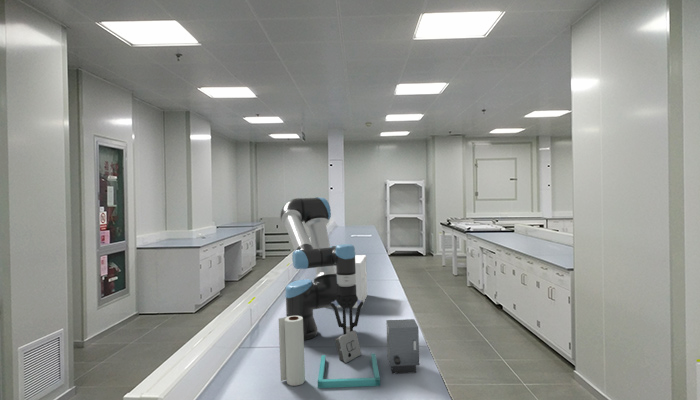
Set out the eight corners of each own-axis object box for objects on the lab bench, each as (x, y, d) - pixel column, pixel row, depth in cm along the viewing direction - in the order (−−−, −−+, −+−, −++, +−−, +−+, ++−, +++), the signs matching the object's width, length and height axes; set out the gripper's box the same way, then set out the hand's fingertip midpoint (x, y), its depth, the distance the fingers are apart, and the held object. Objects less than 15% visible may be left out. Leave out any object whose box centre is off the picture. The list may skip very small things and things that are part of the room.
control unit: (390, 376, 130) (389, 329, 129) (387, 363, 140) (386, 319, 139) (420, 375, 130) (419, 328, 129) (415, 362, 140) (414, 318, 139)
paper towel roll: (308, 381, 129) (306, 317, 128) (294, 388, 124) (292, 322, 124) (294, 374, 134) (292, 313, 133) (280, 381, 129) (278, 317, 128)
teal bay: (317, 388, 124) (317, 381, 124) (321, 360, 144) (321, 355, 144) (380, 385, 124) (380, 379, 124) (375, 358, 144) (375, 353, 144)
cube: (361, 308, 207) (360, 263, 206) (322, 308, 210) (321, 263, 210) (367, 295, 232) (366, 255, 231) (332, 295, 235) (330, 255, 234)
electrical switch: (345, 363, 141) (343, 338, 141) (335, 361, 144) (332, 336, 144) (361, 355, 148) (359, 330, 148) (351, 353, 151) (349, 329, 151)
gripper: (329, 287, 148) (331, 348, 148) (363, 285, 148) (365, 347, 149) (330, 282, 155) (332, 341, 156) (362, 281, 156) (364, 339, 156)
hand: (348, 344), depth 152 cm, fingers closed
